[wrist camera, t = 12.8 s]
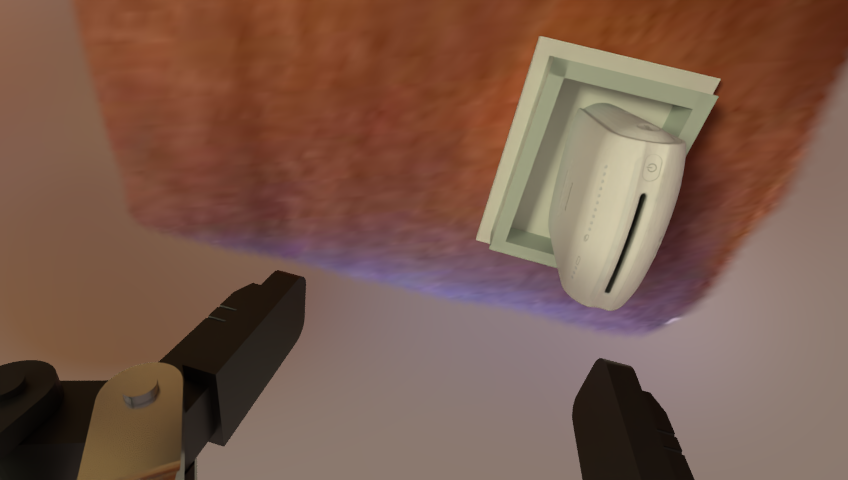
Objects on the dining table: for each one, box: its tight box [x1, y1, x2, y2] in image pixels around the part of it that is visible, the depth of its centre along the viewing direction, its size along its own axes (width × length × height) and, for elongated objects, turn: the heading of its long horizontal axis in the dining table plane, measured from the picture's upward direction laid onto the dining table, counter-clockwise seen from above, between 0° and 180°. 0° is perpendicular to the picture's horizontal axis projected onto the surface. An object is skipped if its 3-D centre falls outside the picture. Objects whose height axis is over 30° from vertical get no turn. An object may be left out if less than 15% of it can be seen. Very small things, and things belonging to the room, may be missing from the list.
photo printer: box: [548, 103, 686, 311], centre depth 24 cm, size 10×4×12 cm, turn 175°
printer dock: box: [476, 36, 721, 268], centre depth 29 cm, size 16×12×4 cm
